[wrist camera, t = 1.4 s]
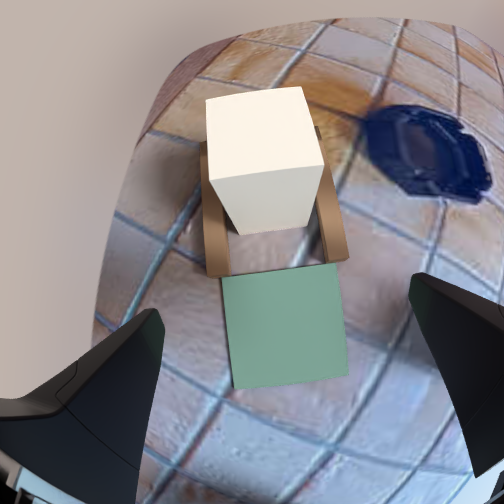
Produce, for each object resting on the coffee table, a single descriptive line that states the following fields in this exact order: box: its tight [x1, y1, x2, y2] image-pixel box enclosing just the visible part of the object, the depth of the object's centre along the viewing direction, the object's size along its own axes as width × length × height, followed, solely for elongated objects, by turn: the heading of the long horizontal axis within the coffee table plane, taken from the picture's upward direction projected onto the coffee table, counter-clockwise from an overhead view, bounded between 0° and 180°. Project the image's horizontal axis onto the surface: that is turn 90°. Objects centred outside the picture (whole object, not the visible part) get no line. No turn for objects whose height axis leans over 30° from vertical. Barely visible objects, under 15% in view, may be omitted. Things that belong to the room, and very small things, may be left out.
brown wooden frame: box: [200, 126, 349, 279], centre depth 22 cm, size 12×11×2 cm
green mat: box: [222, 263, 349, 389], centre depth 20 cm, size 9×9×1 cm
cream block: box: [206, 87, 324, 235], centre depth 18 cm, size 6×6×10 cm
